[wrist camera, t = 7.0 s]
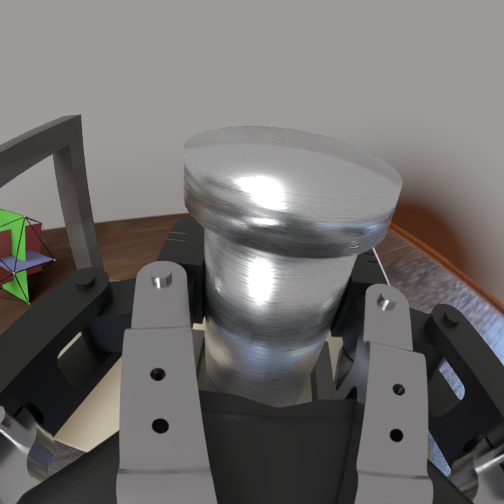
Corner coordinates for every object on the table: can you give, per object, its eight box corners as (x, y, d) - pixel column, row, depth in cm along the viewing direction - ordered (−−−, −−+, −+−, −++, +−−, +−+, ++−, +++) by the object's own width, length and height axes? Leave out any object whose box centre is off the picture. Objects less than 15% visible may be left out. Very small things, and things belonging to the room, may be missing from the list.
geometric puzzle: (35, 225, 24) (-21, 185, 16) (82, 240, 22) (20, 193, 15) (9, 297, 21) (-54, 271, 14) (54, 322, 20) (-20, 301, 13)
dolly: (36, 445, 10) (-120, 231, 3) (102, 303, 20) (67, 114, 13) (408, 487, 11) (610, 308, 3) (375, 332, 20) (447, 152, 13)
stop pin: (186, 432, 10) (151, 178, 5) (203, 339, 14) (207, 121, 9) (312, 442, 10) (441, 217, 5) (306, 348, 14) (366, 142, 9)
